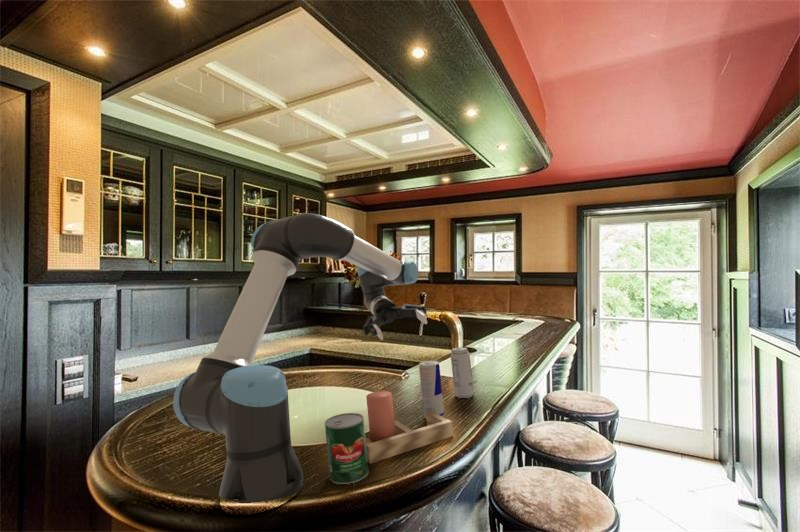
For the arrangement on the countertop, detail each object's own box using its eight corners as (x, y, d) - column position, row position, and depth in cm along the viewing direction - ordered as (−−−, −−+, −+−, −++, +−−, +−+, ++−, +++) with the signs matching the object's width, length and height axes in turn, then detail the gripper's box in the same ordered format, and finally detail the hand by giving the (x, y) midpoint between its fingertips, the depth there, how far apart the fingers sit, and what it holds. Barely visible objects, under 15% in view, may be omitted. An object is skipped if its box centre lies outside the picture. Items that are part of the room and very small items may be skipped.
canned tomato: (353, 461, 81) (349, 410, 82) (376, 472, 75) (371, 417, 76) (321, 476, 76) (317, 421, 76) (343, 489, 70) (338, 430, 71)
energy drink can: (475, 398, 115) (470, 349, 116) (456, 400, 115) (451, 351, 116) (472, 392, 121) (467, 346, 122) (453, 394, 122) (449, 348, 122)
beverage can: (443, 421, 99) (438, 364, 100) (422, 421, 100) (417, 365, 101) (445, 413, 105) (440, 359, 106) (425, 414, 106) (420, 360, 107)
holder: (370, 463, 79) (368, 446, 79) (354, 448, 88) (353, 433, 88) (453, 436, 89) (451, 421, 89) (432, 424, 98) (430, 411, 98)
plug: (377, 455, 83) (372, 400, 83) (367, 446, 88) (362, 395, 89) (401, 447, 86) (396, 394, 86) (390, 439, 91) (385, 389, 91)
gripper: (420, 308, 130) (445, 324, 109) (351, 332, 123) (365, 354, 103) (415, 287, 128) (440, 301, 108) (345, 311, 122) (358, 329, 102)
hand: (403, 327), depth 105 cm, fingers open, 13 cm apart
